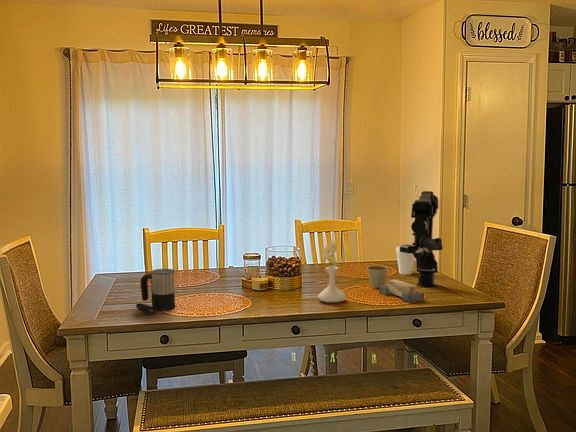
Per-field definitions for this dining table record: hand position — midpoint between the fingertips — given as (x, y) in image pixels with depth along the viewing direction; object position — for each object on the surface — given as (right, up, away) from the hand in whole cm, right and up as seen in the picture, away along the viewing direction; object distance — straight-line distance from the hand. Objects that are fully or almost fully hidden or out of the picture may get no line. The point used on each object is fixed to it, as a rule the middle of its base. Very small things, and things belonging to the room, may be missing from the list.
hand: (421, 267), depth 235 cm
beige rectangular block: (-8, -11, 0) cm, 14 cm away
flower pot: (-15, -10, +19) cm, 27 cm away
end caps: (-8, -12, 0) cm, 15 cm away
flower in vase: (-38, -13, -7) cm, 40 cm away
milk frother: (-107, -15, -17) cm, 109 cm away
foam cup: (+3, -7, +47) cm, 48 cm away
